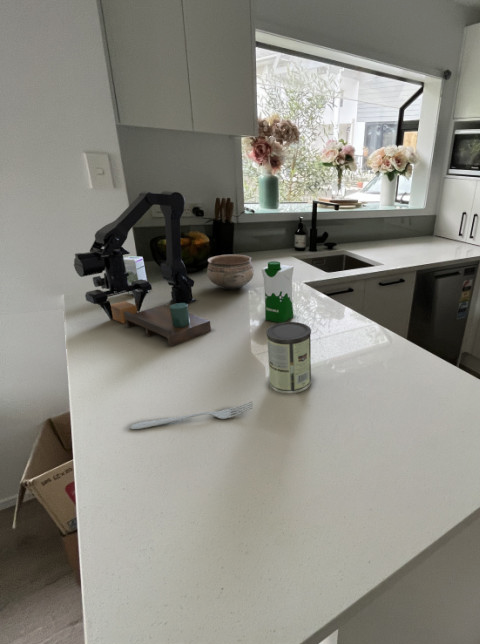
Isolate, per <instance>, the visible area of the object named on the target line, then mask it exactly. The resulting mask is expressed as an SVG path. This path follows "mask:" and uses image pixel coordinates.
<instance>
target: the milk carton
mask: <svg viewBox="0 0 480 644" xmlns="http://www.w3.org/2000/svg"><path fill="white" fill-rule="evenodd" d="M261 274H262V278H263V291H264V312H265V314H264V315H265V316H264V317H265V318H264V319H265V321H269V322H275V323H277V324H278V323H283V322H288V321H289V320H291V319H292V318H293V317H294V307H293V305H294V304H293V274H294V266H292V265H291V266H290V265H286V264H285V265H284V264H281V262H280V261H277V260H275V261H274V260H273V261H272V260H271V261H267V266H265V267H262V268H261Z"/></svg>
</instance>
